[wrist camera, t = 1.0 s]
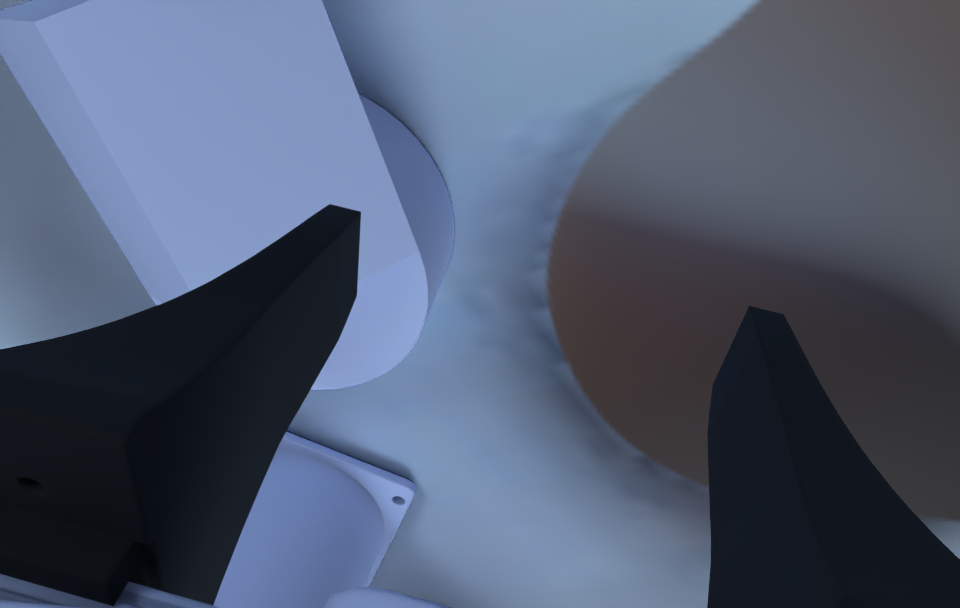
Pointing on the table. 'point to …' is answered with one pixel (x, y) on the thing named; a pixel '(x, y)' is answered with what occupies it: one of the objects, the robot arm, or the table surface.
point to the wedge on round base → (236, 150)
